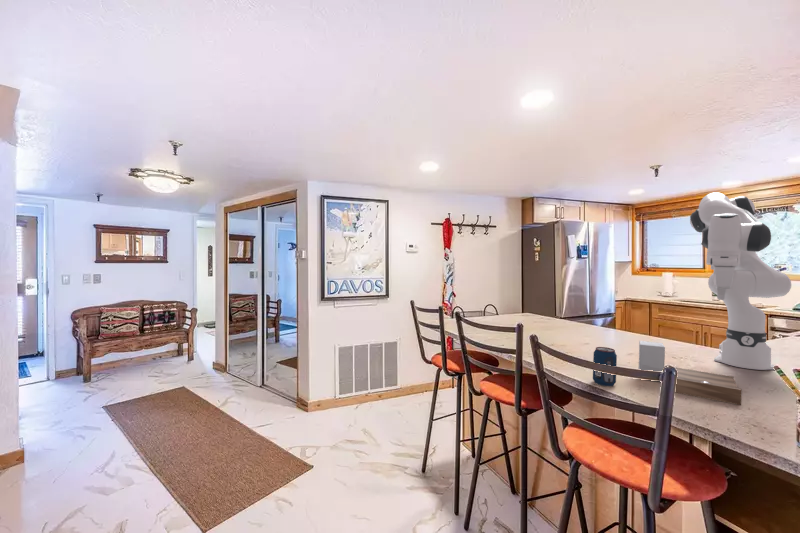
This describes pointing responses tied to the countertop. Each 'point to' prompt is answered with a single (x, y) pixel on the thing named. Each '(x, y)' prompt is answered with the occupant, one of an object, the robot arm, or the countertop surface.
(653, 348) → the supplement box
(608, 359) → the soda can
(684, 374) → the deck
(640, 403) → the countertop surface
